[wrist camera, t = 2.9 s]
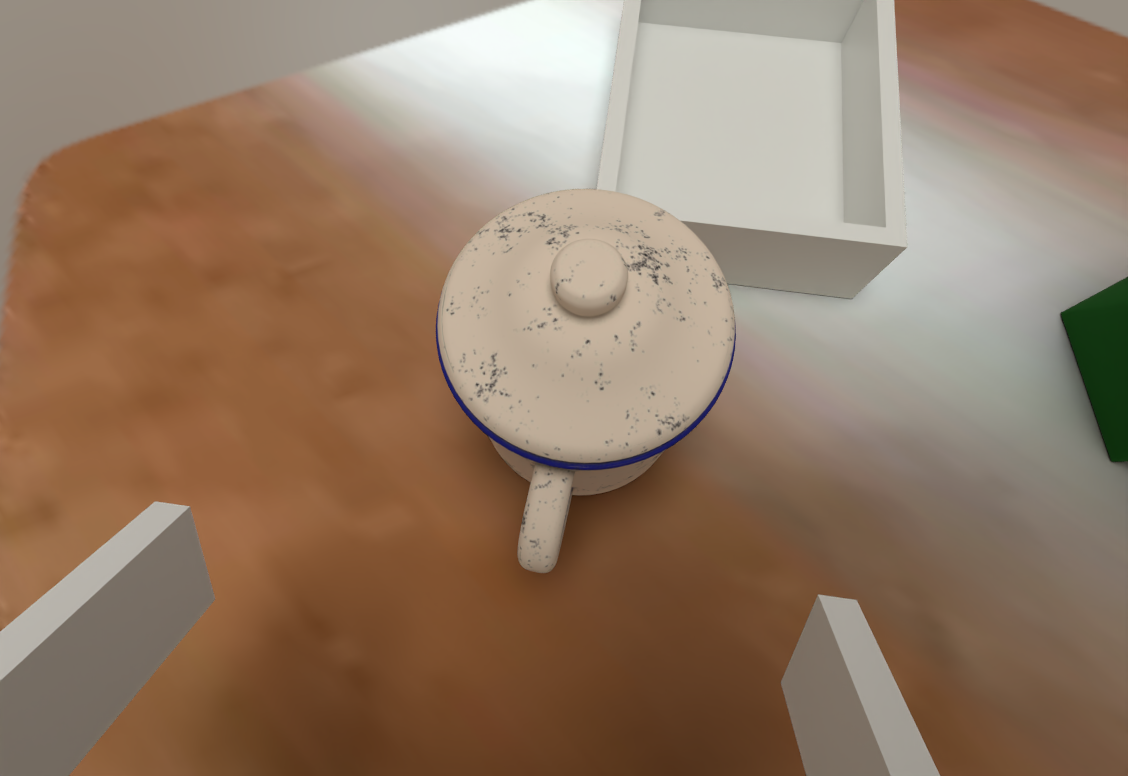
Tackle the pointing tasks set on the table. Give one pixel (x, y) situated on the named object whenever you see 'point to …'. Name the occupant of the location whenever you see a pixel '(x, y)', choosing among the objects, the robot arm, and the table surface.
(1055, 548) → the table surface
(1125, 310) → the milk carton
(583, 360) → the teacup with lid
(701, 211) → the white rectangular tray
